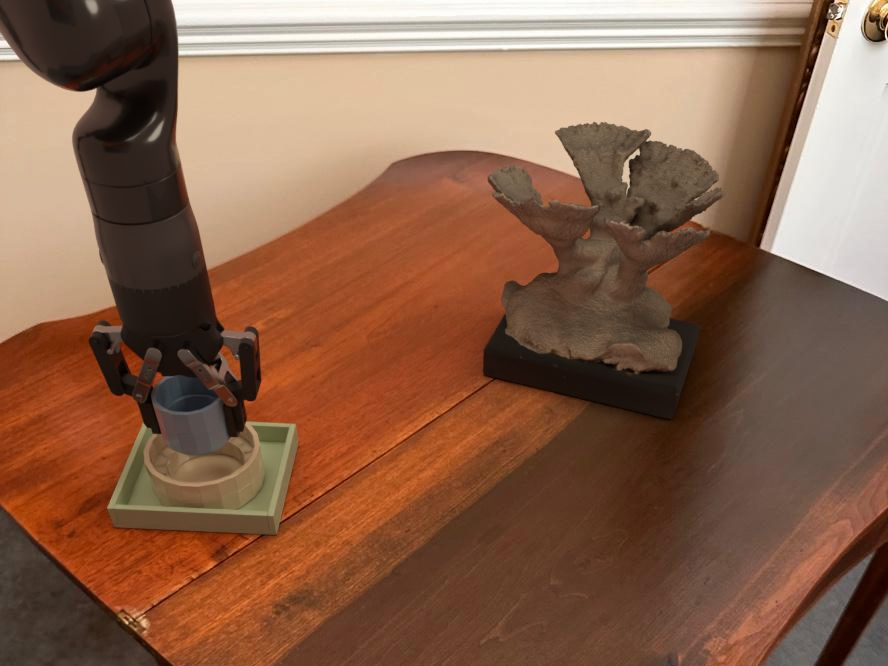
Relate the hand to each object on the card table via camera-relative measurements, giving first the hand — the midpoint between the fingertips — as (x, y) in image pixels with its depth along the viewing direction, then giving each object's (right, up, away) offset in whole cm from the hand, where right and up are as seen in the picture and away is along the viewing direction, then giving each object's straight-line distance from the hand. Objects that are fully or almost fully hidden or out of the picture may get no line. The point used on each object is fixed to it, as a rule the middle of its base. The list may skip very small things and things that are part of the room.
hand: (197, 429), depth 80 cm
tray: (0, -4, +5) cm, 7 cm away
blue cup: (0, -1, +1) cm, 1 cm away
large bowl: (0, -4, +5) cm, 7 cm away
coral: (+39, +14, +22) cm, 46 cm away
